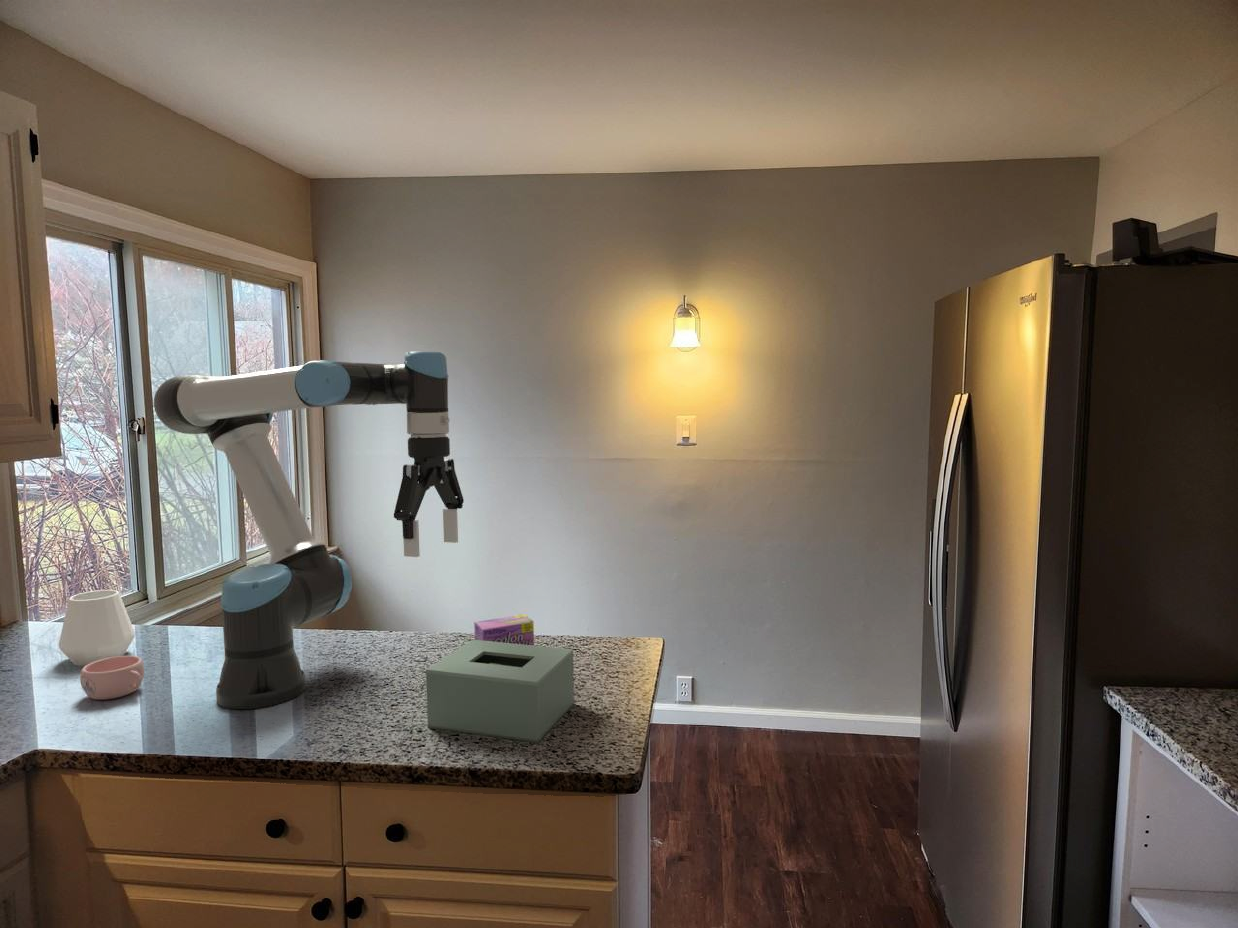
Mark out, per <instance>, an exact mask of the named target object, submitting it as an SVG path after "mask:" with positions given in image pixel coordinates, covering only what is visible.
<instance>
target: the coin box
mask: <svg viewBox="0 0 1238 928" xmlns="http://www.w3.org/2000/svg"><path fill="white" fill-rule="evenodd" d="M490 663H496V664H502V665H494V664H490ZM503 665H509V666H503ZM513 666H515V667H513ZM574 675H575V674H574V649H571V648H561V647H551V646H542V645H541V646H540V645H534V646H533V645H523V644H513V643H503V642H492V641H482V640H475V639H472V640H470V641H469V642H467V643H465V644H464V645H462V646H460V647H459V648H457V649H455V650H454V651H453V652H451V653H450V654H448V655H447V656H445V657H443V658H442V659H440V660H439V661H437V662H436V663H434V664H432V665H431V666H429V667H427V668H426V669H425V676H426V677H425V679H426V708H427V712H426V713H427V714H426V715H427V728H429V729H435V730H442V731H449V732H456V733H457V732H458V733H464V734H471V735H479V736H485V737H486V736H487V737H493V738H499V739H501V738H502V739H505V740H507V739H508V740H514V741H521V742H528V743H529V742H530V743H536V744H539V743H540V742H541V741H542V739H543V738H544V737H545V736H546V735H547V734H548V732H550V731H551V729H552V728H553V727H554V726H555V725H556V724H558V722H559V721H560V719H562V717H563V716H564V715H565V714H566V713H567V712H568V711H569V710H570V709H571V708H572V707H573V706H574V704H575V693H574V692H575V689H574V688H575V686H574V685H575V684H574V683H575V682H574V681H575V680H574V678H575V677H574Z"/></svg>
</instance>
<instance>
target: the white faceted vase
mask: <svg viewBox="0 0 1238 928" xmlns="http://www.w3.org/2000/svg"><path fill="white" fill-rule="evenodd" d="M123 601H124V600H123V599H122V596H121V593H120V592H119V591H118V590H115V589H101V590H100V589H99V590H91V591H85V592H81V593H76V594H75V595H71V596H70V597H69V599H68V602H67V606H66V611H65V615H64V619H63V623H62V624H63V625H62V628H61V632H60V637H59V640H58V647H59V650H60V651H61V652H62V653H63V654H64V655H65V656H66V657H67V659H68V660H69V661H70V662H72V664H73V665H74V666H78V667H85V666H86V665H88V664H90V663H92V662H95V661H98V660H101V659H105V658H110V657H117V656H125V654H126V653H127V651H128V649H129V647H130V645H132V643H133V640H134V638H135V636H136V634H135V633H136V632H135V629H134V627H133V624H132V622H131V619H130V617H129V614H128V612H127V609H126V607H125V603H124V602H123Z"/></svg>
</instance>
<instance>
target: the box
mask: <svg viewBox="0 0 1238 928" xmlns="http://www.w3.org/2000/svg"><path fill="white" fill-rule="evenodd" d="M473 626H474V628H473V629H474V640H482V641H492V642H503V643H513V644H523V645H533V646H535V636H534V635H535V633H534V631H535V630H534V620H532V618H530V617H529V616H528V615H526V614H517V615H510V616H504V617H498V618H492V619H487V620H479V621H474V624H473Z"/></svg>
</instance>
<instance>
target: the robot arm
mask: <svg viewBox="0 0 1238 928" xmlns="http://www.w3.org/2000/svg"><path fill="white" fill-rule="evenodd" d="M447 364H448V363H447V357H446V355H445V354H444V353H442V352H441V351H431V350H430V351H427V350H426V351H424V350H423V351H422V350H421V351H419V350H418V351H417V350H416V351H408V352H406V353H405V355H404V361H403V362H402V363H401V362H400V363H370V362H369V363H368V362H348V361H347V362H345V361H335V360H331V359H321V360H320V359H319V360H311V361H308V362H305V364H303V365H298V366H297V365H296V366H290V367H284V368H276V369H270V370H269V369H268V370H263V371H256V372H249V373H243V374H241V373H240V374H236V375H234V374H233V375H232V374H231V375H224V376H222V375H201V374H200V375H198V374H197V375H196V374H183V375H178V376H177V375H176V376H174V377H171V378H169V379H166V380H165V381H164V382H163V383H162V384H160V386H159V387H158V388H157V389H156V392H155V394H154V398H153V408H154V412H155V414H156V417H157V418H158V419H159V421H160V422H161V423H162V424H163V425H164V426H165V427H167V428H168V429H170V430H172V431H175V432H177V433H182V434H187V435H202V434H203V435H204V434H205V435H207V436H208V438H209V441H210V443H211V445H212V446H213V449H214V450H217V451H220V452H222V453H224V454H225V456H226V459H227V461H228V464H229V465H230V468H231V470H232V472H233V474H234V478H236V481H237V484H238V485H239V488H240V490H241V492H242V494H243V496H244V499H245V501H246V503H247V506H248V508H249V510H250V512H251V515H252V517H253V520H254V521H255V523H256V527H257V528H258V530H259V533H260V535H261V537H262V539H263V541H264V543H265V546H266V548H267V550H268V553H269V555H270V560H269V563H264V564H259V565H257V566H248V567H246V568H242V569H240V570H238V571H235V572H233V573H232V574H230V575H229V576H227V577H226V578H225V579H224V581H223V582H222V585H221V598H220V607H221V618H222V630H223V645H224V660H223V665H222V668H221V672H220V676H219V682H218V683H217V685H216V688H215V692H216V693H215V695H216V697H215V698H216V703H217V705H219V706H220V707H222V708H224V709H225V708H226V709H230V710H231V709H232V710H252V709H253V710H254V709H260V708H266V707H271V706H274V705H275V706H276V705H279V704H282V703H286V702H287V701H290V700H293V699H294V698H296V697H298V696H300V695H301V694H302V693H303V692H305V690H306V687H307V685H306V684H307V683H306V675H305V674H306V673H305V672H304V670H303V669H302V668H301V664H300V661H299V658H298V656H297V653H296V651H295V644H294V628H296V627H299V626H301V625H304V624H307V623H310V622H311V621H314V620H317V619H319V618H325V617H327V616H329V615H331V614H332V613H333V612H336V611H338V610H339V609H341V608H342V607H343V606H344V605H345V604H346V603H347V602H348V601H349V599H350V595H351V592H352V589H353V577H352V572H351V569H350V567H349V566H348V564H347V563H346V561H345V560H344V559H342V558H340V557H339V556H338V555H332V554H330V553H329V550H328V549H327V546H326V544H325V543H324V542H321V541H319V540H315V539H314V537H313V534H312V532H311V530H310V528H309V526H308V523H307V521H306V519H305V517H304V515H303V512H302V511H301V508H300V506H299V504H298V501H297V499H296V497H295V495H294V493H293V491H292V488H291V486H290V483H289V482H288V479H287V477H286V475H285V472H284V471H283V469H282V466H281V464H280V461H279V460H278V458H277V456H276V453H275V450H274V449H273V447H272V444H271V441H270V439H269V437H268V436H269V435H270V433H271V431H272V426H271V422H272V419H273V417H274V413H280V412H288V411H295V410H297V411H298V410H301V409H303V410H305V409H311V408H322V407H323V408H324V407H330V406H331V407H332V406H342V405H343V406H345V405H346V406H347V405H368V406H369V405H372V406H375V405H397V404H402V405H406V433H407V434H408V435H410V437H408V439H407V452H408V453H407V455H408V457H409V458H412V459H414V460H413V461H414V462H413V464H403V466H402V479H401V483H400V487H399V491H398V494H397V495H398V496H397V499H396V503H395V506H394V507H395V508H394V511H393V512H394V513H393V518H394V519H396V520H397V521H401V523H402V537H403V538H402V539H403V556H404V557H407V558H408V557H412V558H418V557H421V556H420V555H421V554H420V532H419V531H420V530H419V529H420V528H419V520H417V519H416V517H417V515H418V514H419V513H418V512H419V510H420V508H421V505H422V503H423V500H424V497H425V495H426V493H427V491H428V490H430V488H432V487H434V489H435V490H436V492H437V494H438V495H439V498H440V499H441V501H442V503H443V505H444V507H445V508H443V509H442V520H443V521H442V522H443V523H442V524H443V542H444V543H453V544H454V543H455V544H456V543H459V531H458V530H459V527H458V509H462V508H463V504H464V496H463V494H462V489H461V486H460V484H459V480H458V477H457V476H458V475H457V473H456V469H455V468H456V467H455V460H454V458H453V459H452V458H446V457H449V456H450V454H451V445H450V437H448V436H447V434H449V432H450V426H449V425H450V424H449V423H450V418H449V401H448V400H449V397H448V396H449V395H448V394H449V393H448V392H449V391H448V390H449V388H448V387H449V385H448V383H449V382H448V381H449V373H448V365H447Z"/></svg>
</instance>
